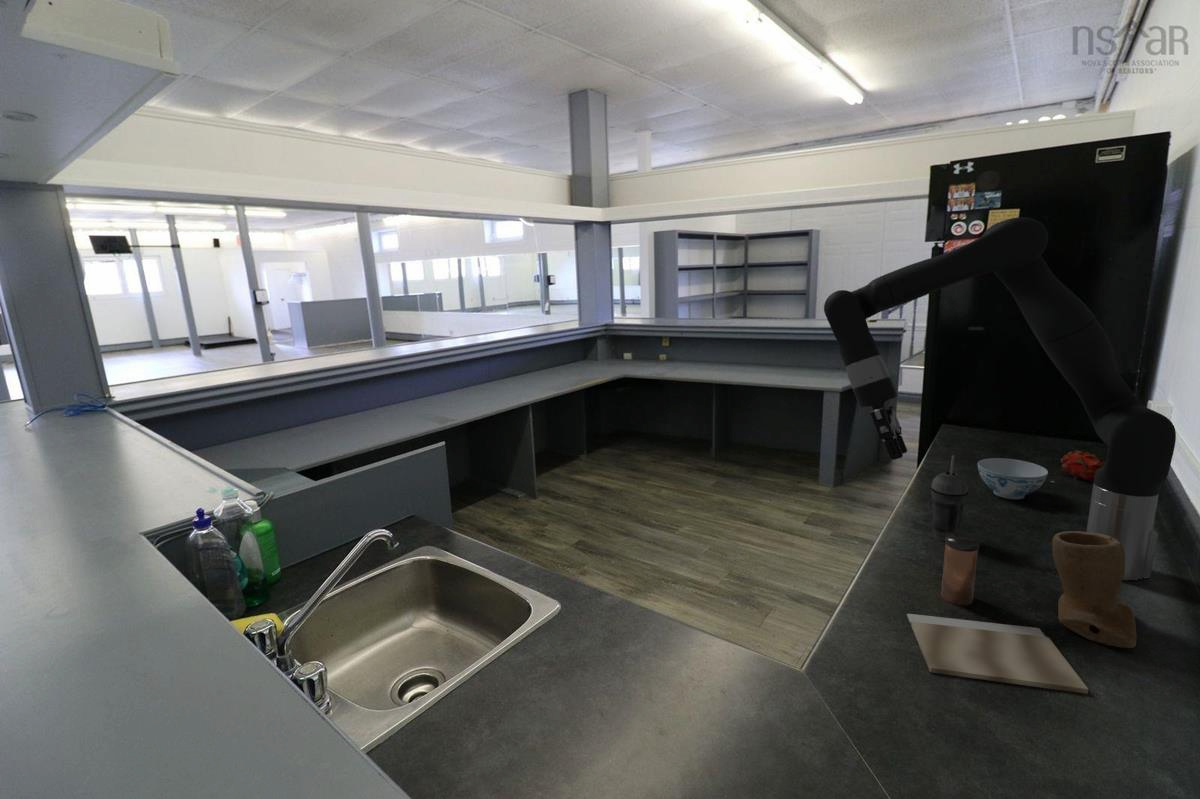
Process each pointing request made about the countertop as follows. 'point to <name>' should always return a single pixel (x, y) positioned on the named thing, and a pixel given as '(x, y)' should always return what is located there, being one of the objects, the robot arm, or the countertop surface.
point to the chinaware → (1011, 476)
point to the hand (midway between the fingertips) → (899, 455)
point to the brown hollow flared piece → (1093, 588)
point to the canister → (959, 568)
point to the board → (996, 657)
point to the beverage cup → (948, 502)
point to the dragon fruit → (1082, 464)
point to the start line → (975, 625)
